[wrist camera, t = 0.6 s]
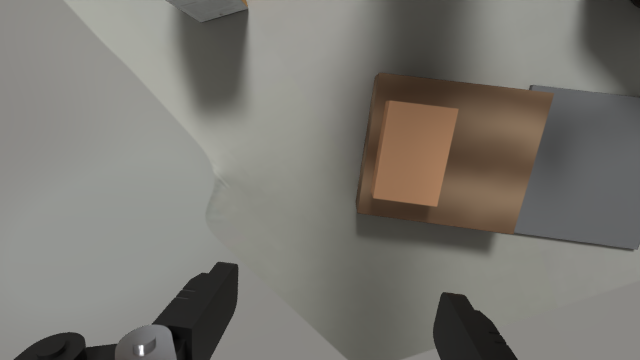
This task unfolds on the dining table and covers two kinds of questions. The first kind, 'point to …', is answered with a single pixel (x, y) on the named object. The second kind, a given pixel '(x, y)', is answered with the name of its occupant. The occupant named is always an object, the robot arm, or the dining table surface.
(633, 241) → the mat
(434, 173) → the orange tan block
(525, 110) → the brown box
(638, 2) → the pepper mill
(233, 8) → the small box
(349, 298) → the dining table surface
